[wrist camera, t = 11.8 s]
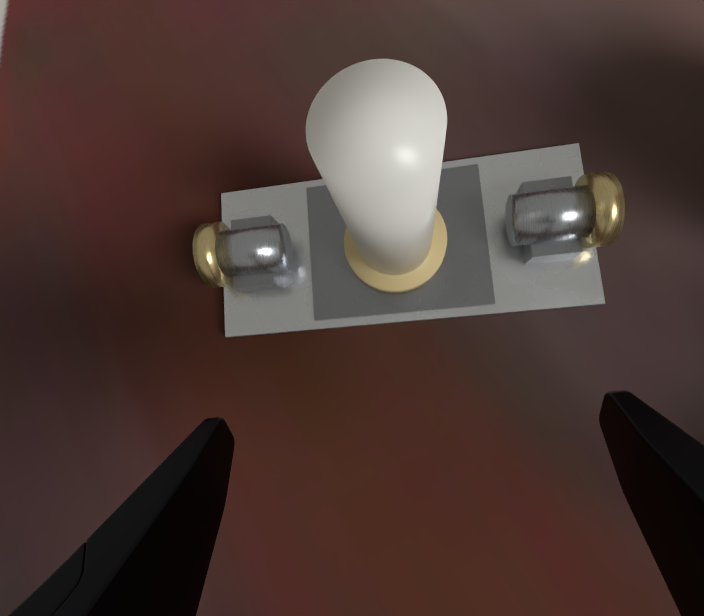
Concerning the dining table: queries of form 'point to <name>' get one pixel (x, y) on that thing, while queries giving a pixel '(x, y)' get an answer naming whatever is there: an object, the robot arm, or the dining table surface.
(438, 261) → the grey upright cylinder
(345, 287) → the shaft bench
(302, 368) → the dining table surface
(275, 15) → the dining table surface
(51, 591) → the robot arm
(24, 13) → the dining table surface
